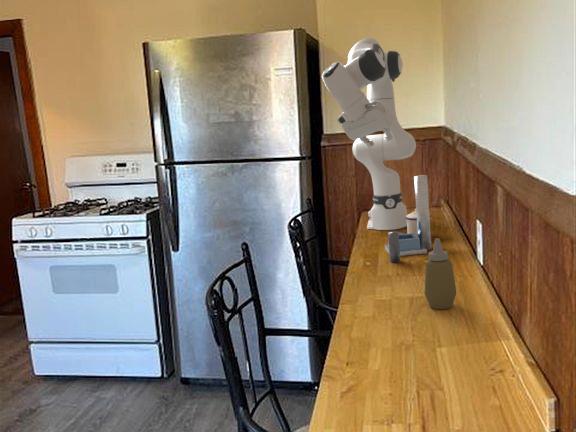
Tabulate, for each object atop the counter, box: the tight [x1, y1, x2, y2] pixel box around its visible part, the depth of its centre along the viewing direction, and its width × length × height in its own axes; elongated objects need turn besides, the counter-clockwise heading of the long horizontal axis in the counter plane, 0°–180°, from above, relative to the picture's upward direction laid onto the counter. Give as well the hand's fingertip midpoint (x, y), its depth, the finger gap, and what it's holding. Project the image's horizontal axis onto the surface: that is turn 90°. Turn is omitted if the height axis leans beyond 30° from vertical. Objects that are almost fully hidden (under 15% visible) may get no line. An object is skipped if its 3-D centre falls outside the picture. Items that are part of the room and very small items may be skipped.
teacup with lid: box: [406, 208, 432, 236], centre depth 227 cm, size 12×9×12 cm
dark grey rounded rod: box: [387, 230, 401, 264], centre depth 199 cm, size 3×3×10 cm
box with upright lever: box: [384, 174, 432, 257], centre depth 212 cm, size 18×15×26 cm
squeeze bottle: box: [424, 237, 457, 310], centre depth 153 cm, size 8×8×18 cm
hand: (380, 142), depth 198 cm, fingers open, 8 cm apart
